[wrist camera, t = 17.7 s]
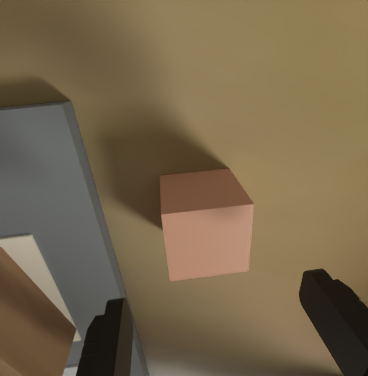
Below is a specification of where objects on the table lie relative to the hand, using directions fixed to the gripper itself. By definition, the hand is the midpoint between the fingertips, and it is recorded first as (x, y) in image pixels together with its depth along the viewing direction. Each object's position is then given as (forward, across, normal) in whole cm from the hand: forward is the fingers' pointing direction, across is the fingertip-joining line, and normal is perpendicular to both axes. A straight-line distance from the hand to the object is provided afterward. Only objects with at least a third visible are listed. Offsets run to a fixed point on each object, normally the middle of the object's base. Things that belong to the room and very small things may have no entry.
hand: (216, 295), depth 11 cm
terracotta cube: (+8, 0, 0) cm, 8 cm away
